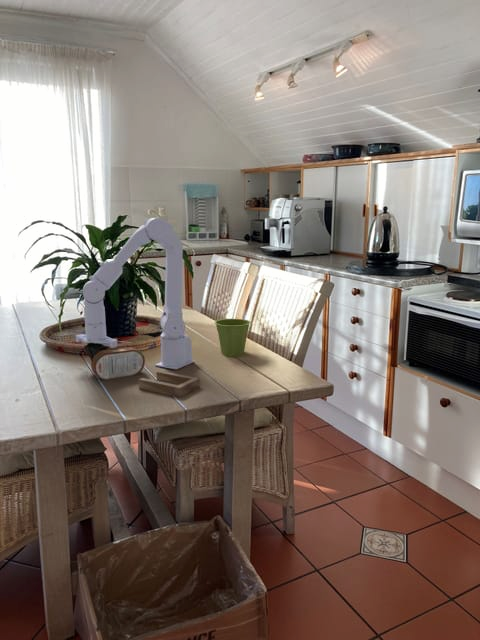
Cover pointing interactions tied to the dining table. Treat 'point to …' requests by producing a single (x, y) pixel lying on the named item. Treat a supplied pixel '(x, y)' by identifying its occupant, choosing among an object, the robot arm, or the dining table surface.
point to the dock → (181, 388)
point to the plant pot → (232, 335)
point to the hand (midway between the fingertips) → (97, 368)
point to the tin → (117, 363)
